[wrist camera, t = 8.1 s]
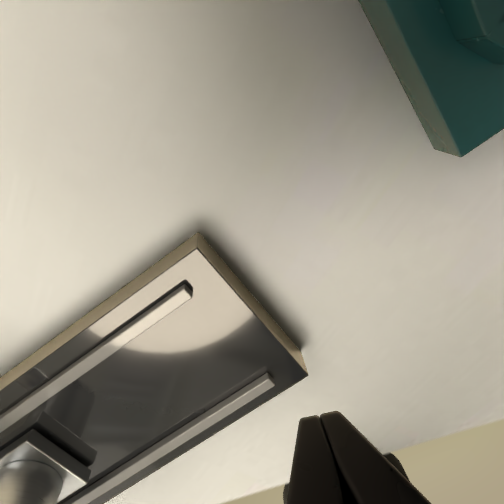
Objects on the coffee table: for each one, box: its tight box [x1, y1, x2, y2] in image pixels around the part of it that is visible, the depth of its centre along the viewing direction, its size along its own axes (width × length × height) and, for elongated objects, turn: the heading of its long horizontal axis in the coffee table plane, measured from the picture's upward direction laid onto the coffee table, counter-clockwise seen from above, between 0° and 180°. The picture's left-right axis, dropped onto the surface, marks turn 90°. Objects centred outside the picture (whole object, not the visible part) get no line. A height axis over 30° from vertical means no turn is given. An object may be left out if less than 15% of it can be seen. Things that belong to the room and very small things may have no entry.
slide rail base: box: [0, 232, 308, 504], centre depth 21 cm, size 9×18×2 cm, turn 126°
